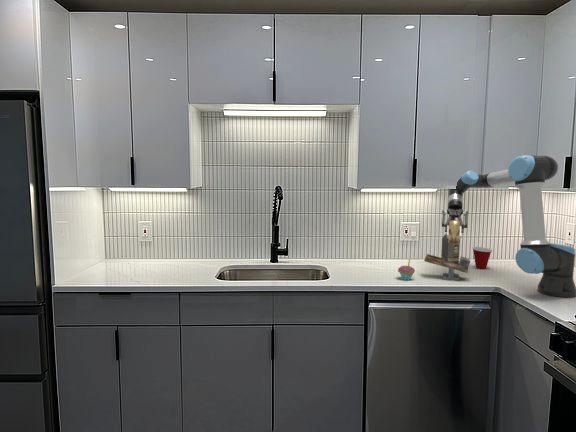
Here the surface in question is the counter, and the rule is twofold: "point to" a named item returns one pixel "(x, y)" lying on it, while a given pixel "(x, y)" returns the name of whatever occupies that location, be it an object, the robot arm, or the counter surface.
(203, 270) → the counter surface
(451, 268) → the pivot stand
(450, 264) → the balance beam
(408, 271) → the cupcake
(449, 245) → the liquor
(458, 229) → the cylinder
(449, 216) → the robot arm
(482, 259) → the plastic cup
